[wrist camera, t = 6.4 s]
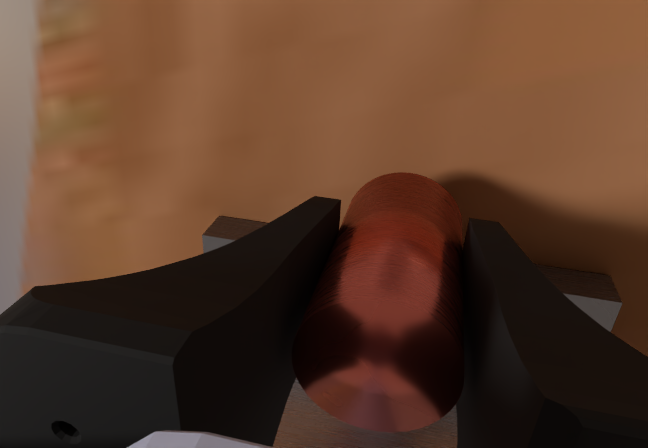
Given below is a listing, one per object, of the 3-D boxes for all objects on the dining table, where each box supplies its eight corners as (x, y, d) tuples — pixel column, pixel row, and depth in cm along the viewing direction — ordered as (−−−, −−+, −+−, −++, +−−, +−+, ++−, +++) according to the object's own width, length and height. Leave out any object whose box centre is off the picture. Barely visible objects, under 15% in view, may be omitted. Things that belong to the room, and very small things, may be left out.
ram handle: (457, 429, 15) (456, 617, 11) (301, 396, 16) (245, 559, 12) (517, 186, 12) (553, 331, 7) (309, 160, 12) (231, 275, 8)
